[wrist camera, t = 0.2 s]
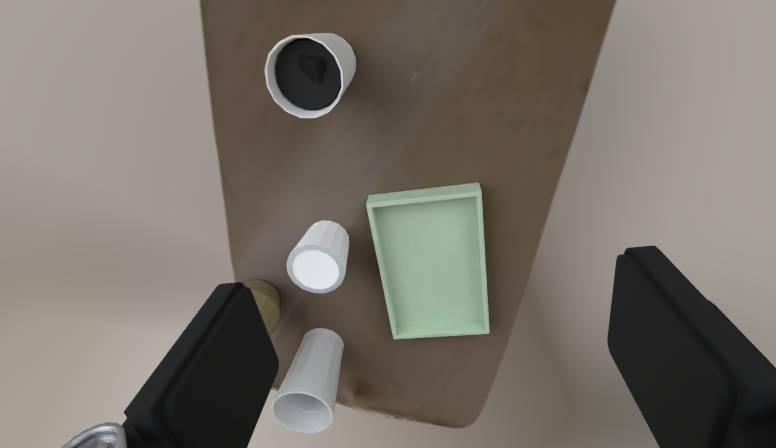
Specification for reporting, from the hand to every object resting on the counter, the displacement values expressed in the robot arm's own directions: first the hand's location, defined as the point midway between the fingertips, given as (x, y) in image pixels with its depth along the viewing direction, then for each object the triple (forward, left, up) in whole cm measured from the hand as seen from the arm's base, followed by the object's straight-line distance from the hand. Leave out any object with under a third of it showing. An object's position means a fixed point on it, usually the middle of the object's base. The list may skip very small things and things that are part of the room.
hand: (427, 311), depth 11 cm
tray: (+23, -2, -37) cm, 43 cm away
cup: (+36, -20, -37) cm, 55 cm away
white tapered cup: (+18, -15, -37) cm, 44 cm away
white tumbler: (-3, -10, -37) cm, 38 cm away
